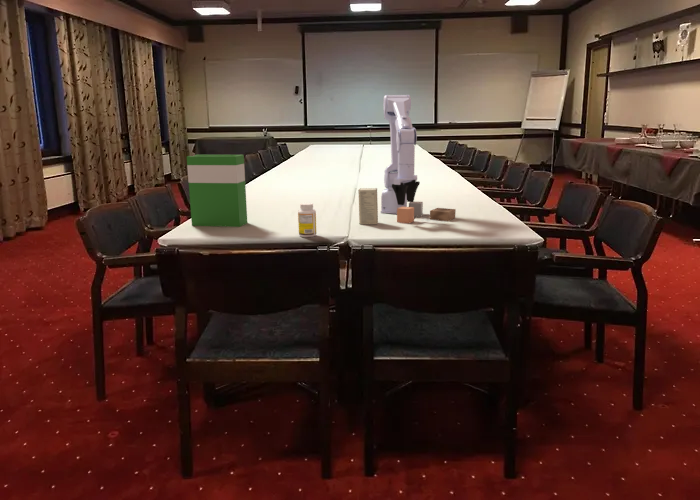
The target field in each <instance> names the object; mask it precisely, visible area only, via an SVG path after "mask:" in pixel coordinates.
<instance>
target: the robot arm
mask: <svg viewBox="0 0 700 500" xmlns="http://www.w3.org/2000/svg"><path fill="white" fill-rule="evenodd" d="M382 102H383V103H382V104H383V117H384V119H385V120H386V121H388V122H389V130H390V132H389V133H390V158H391V159H390V160H391V163H390V164H389V165H388V166H386V168H385V169H384V177H383V181H384V182H383V183H384V189H383V190H382V192H381V196H380V197H381V198H380V199H381V204H380V205H381V210H380V213H381V214H382V213H383V214H394V215H397V208H400V207H408V203H410V202H415V196H416V193H417V190H418V187H419V186H420V181H418V175H417V174H415V152H416V151H415V148H416V144H417V141H418V139H417V138H418V137H417V135H418V134H417V129H416V128H415V127H414V126H413V123H412V119H411V118H410V117H409V116H410V111H411V107H412V98H411V95H410V94H394V95H393V94H385V95H384V96H383V101H382Z"/></svg>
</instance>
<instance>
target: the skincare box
mask: <svg viewBox="0 0 700 500" xmlns="http://www.w3.org/2000/svg"><path fill="white" fill-rule="evenodd" d="M378 210H379V209H378V188H377V187H371V188H369V187H368V188H367V187H366V188H365V187H363V188H362V187H361V188H359V189H358V212H359V213H358V215H359V216H358V217H359V220H358V221H359V225H377V224H378V222H379V221H378V220H379V216H378V215H379V211H378Z"/></svg>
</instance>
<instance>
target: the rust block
mask: <svg viewBox="0 0 700 500" xmlns="http://www.w3.org/2000/svg"><path fill="white" fill-rule="evenodd" d="M414 221H415V217H414V207H409V206H407V207H400V208H397V214H396V223H400V224H401V223H402V224H410V223H413V222H414Z"/></svg>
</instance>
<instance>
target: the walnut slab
mask: <svg viewBox="0 0 700 500" xmlns="http://www.w3.org/2000/svg"><path fill="white" fill-rule="evenodd" d="M456 212H457V211H456V208H444V207H435V208H433V209H432V210H429V220H432V221H443V222H449V221H452V220H454V219H456Z"/></svg>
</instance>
